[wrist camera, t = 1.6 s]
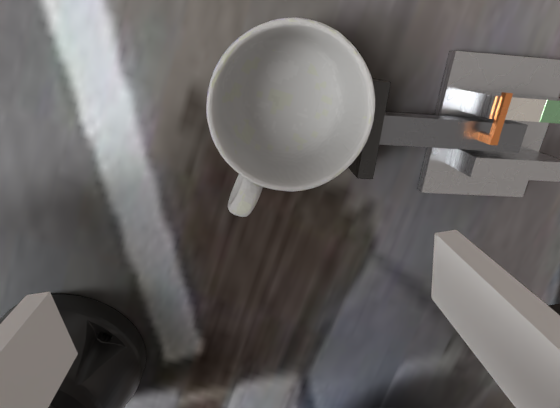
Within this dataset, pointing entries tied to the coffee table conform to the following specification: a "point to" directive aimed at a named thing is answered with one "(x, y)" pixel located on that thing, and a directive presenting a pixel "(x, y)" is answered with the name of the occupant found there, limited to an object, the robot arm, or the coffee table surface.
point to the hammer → (436, 131)
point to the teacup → (289, 108)
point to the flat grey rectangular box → (483, 104)
